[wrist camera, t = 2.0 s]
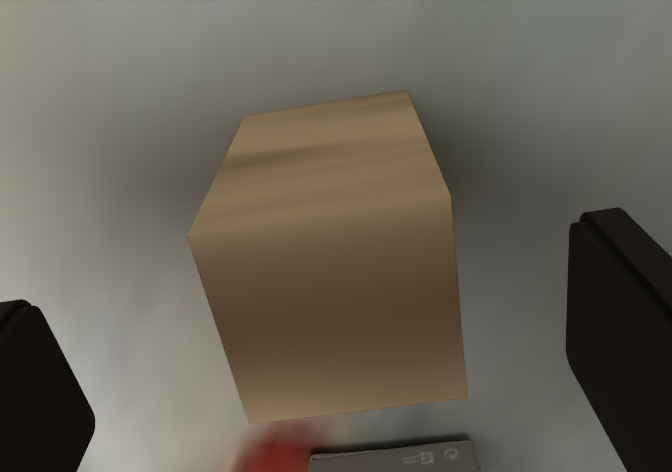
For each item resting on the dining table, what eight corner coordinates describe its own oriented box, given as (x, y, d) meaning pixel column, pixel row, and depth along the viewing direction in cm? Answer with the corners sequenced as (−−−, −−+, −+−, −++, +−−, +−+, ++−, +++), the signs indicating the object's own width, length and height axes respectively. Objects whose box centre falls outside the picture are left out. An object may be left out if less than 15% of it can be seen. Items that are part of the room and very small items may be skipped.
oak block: (422, 233, 18) (467, 397, 12) (279, 254, 18) (249, 424, 12) (406, 89, 16) (451, 195, 10) (244, 115, 16) (186, 235, 10)
